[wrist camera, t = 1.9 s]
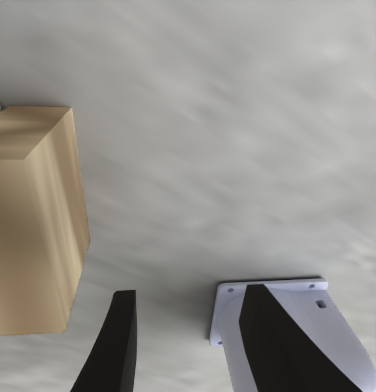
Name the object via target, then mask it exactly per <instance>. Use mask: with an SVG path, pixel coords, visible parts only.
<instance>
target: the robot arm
mask: <svg viewBox="0 0 376 392" xmlns="http://www.w3.org/2000/svg"><path fill="white" fill-rule="evenodd" d="M327 287H328V282H327V280H326V279H301V280H280V281H259V282H238V283H222V284H220V285H219V286H218V288H217V294H216V301H215V307H214V313H213V319H212V325H211V331H210V338H209V343H210V345H211V346H223V347H224V351H225V356H226V360H227V364H228V369H229V373H230V377H231V382H232V386H233V390H234V392H376V370H375V367H374V365H373V362H372V360H371V358H370V356H369V355H368V353H367V351H366V350H365V348H364V347H363V345H362V344H361V342H360V341H359V339H358V338H357V336H356V335H355V333H354V332H353V330H352V329H351V327H350V326H349V324H348V323H347V321H346V320H345V318H344V317H343V315H342V314H341V312H340V311H339V309H338V308H337V306H336V305H335V303H334V302H333V300H332V299H331V297H330V296H329V294H328V293H327V291H326V289H327ZM230 288H231V289H230ZM136 355H137V313H136V290H124V291H116V292H115V293H114V295H113V299H112V302H111V305H110V308H109V311H108V313H107V316H106V319H105V321H104V323H103V326H102V328H101V331H100V333H99V335H98V337H97V339H96V342H95V344H94V346H93V348H92V350H91V352H90V355H89V357H88V359H87V361H86V363H85V364H84V366H83V368H82V370H81V372H80V374H79V376H78V378H77V380H76V382H75V383H74V385H73V387H72V389H71V391H70V392H133V386H134V377H135V368H136Z"/></svg>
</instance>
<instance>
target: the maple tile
mask: <svg viewBox="0 0 376 392" xmlns="http://www.w3.org/2000/svg"><path fill="white" fill-rule="evenodd" d="M89 243H90V236H89V228H88V221H87V214H86V207H85V199H84V192H83V185H82V178H81V171H80V163H79V156H78V149H77V142H76V135H75V127H74V120H73V113H72V107H42V106H12V105H11V106H10V107H8V108H6V109H5V110H3V111H1V112H0V336H9V335H24V334H40V333H55V332H66V328H67V324H68V320H69V317H70V313H71V309H72V306H73V302H74V298H75V294H76V291H77V287H78V283H79V280H80V276H81V272H82V269H83V265H84V261H85V257H86V254H87V250H88V246H89Z"/></svg>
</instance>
